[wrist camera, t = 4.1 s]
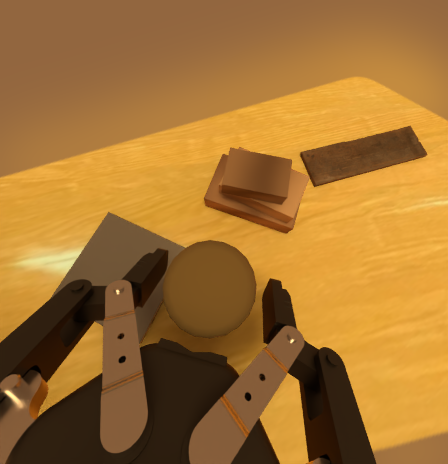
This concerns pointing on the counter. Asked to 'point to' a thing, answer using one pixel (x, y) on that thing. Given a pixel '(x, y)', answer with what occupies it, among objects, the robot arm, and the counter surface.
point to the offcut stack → (257, 189)
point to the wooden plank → (362, 155)
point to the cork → (209, 289)
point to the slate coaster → (121, 262)
